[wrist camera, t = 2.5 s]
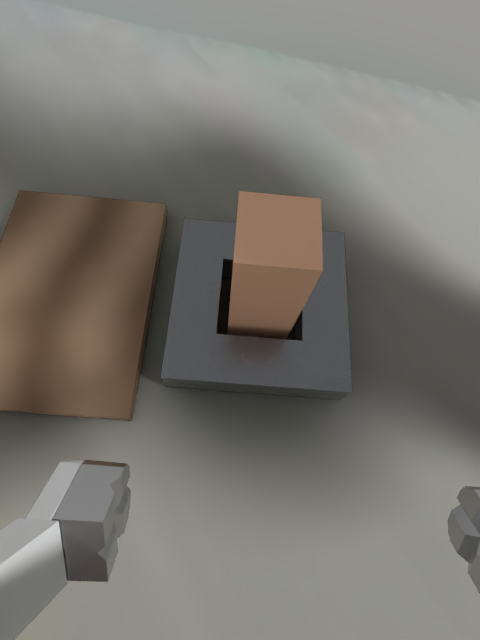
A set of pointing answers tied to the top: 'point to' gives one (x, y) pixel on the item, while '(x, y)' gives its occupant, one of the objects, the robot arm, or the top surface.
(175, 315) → the socket
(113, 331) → the board
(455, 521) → the robot arm
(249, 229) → the peg
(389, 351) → the top surface
